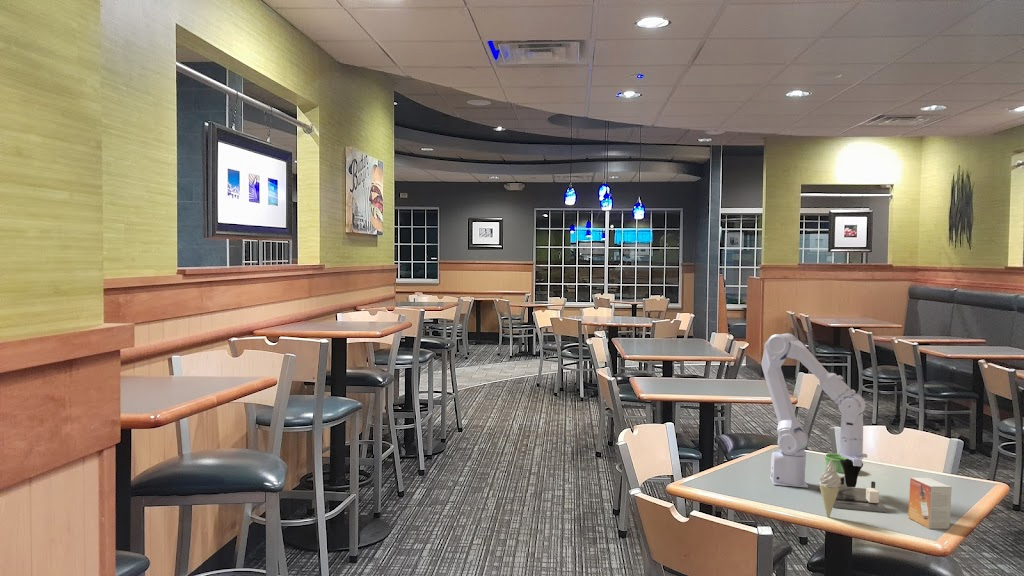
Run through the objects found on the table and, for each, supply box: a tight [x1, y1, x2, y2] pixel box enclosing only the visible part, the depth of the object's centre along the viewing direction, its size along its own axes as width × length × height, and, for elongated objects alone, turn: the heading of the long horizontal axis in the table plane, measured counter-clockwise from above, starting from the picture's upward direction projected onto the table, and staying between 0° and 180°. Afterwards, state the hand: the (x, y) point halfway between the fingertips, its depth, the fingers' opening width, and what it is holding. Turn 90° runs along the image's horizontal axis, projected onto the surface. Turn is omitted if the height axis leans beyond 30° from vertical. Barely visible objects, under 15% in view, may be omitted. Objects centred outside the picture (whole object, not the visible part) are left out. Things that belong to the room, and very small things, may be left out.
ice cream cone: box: [818, 458, 841, 518], centre depth 181 cm, size 5×5×15 cm
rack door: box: [839, 475, 852, 490], centre depth 202 cm, size 10×1×3 cm, turn 122°
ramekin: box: [824, 453, 846, 474], centre depth 229 cm, size 9×9×4 cm
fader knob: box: [865, 487, 880, 503], centre depth 191 cm, size 2×4×3 cm, turn 168°
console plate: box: [818, 481, 888, 513], centre depth 196 cm, size 13×18×6 cm
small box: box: [907, 477, 953, 530], centre depth 179 cm, size 8×6×10 cm
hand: (850, 486), depth 201 cm, fingers closed, pressing on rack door
